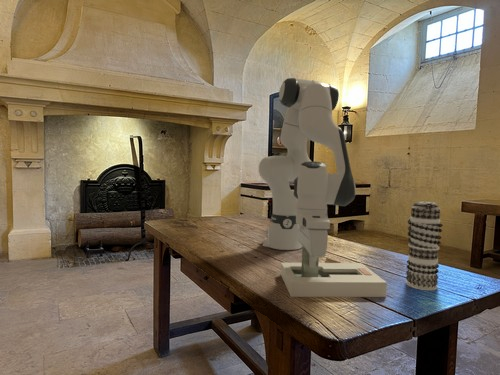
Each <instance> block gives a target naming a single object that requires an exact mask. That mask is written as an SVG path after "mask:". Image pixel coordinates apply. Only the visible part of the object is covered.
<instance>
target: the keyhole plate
mask: <svg viewBox="0 0 500 375" xmlns="http://www.w3.org/2000/svg"><path fill="white" fill-rule="evenodd" d="M301 270H302V262H281V264H280V276H281V278H282V280H283V282H284V285H285V287H286V290H287V291H288V295H289V296H290V298H294V297H295V298H299V297H300V298H308V297H309V298H319V297H320V298H326V297H327V298H387V283H388V282H387V281H386V280H384V279H383V278H382V277H380V276H379V275H378V274H376V273H375V272H374V271H372V270H371V269H370V268H368V267H367V266H366V265H364V264H363V263H362V262H340V263H325V262H318V274H320V275H321V277H295V275H294V274H301Z"/></svg>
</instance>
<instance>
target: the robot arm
mask: <svg viewBox="0 0 500 375" xmlns="http://www.w3.org/2000/svg"><path fill="white" fill-rule="evenodd" d="M278 94H279V95H278V96H279V101H280V104H281V105H282V106H284V107H285V108H287V109H286V112H285V114H284V118H283V123H282V128H281V132H280V142H281V144H282V146H284V147H285V148H286V149H287V153H286V155H272V156H271V155H270V156H265V157H263V158H262V159H261V161H260V162H259V165H258V173H259V176H260V177H261V179H262V180H263V181H264V182H265V183H266V184H267V185H268V187H269V189H270V192H271V195H272V196H271V197H272V213H271V217H270V218H271V219H270V221H271V223H270V225H268V228H266V229H265V235H266V237H265V239H264V240H263V243H262V246H263V247H264V248H269V249H275V250H281V251H294V250H299V249H302V246H303V247H304V248H305V249H306V250H307V252H308V253H309V260H308V266H309V267H310V268H315V267H316V260H317V258H325V256H326V254H327V248H328V236H329V232H328V230H329V229H330V228H331V221H330V220H329V217H328V205H333V206H340V207H346V206H348V205H349V204H350V203H352V202H353V201H354V200H355V198H356V192H357V189H356V183H355V181H354V177H353V173H352V169H351V164H350V158H349V154H348V147H347V144H346V138H345V135H344V132H343V130H342V128H341V127H340V126H337V124H336V123H335V122H334V119H333V111H334V110H335V109H336V107H337V104H338V102H339V97H340V96H339V90H338V88H337V86H335V85H333V84H330V83H326V82H325V83H324V82H322V81H321V82H320V81H318V80H309V79H303V78H302V79H298V78H296V77H289V78H286V79H285V80H283V82H282V84H281V86H280V88H279V91H278ZM308 140H310V141H312V142H313V143H317V144H319V145H322V146H325V147H327V148H328V149H330V150H331V152H332V153H333V156H334V161H335V166H336V172H335V173H328V169H327V165H326V164H325V163H324V162H321V161H312V160H311V159H310V158H309V154H308V151H307V150H308V148H307V146H308ZM292 182H293V190H292V189H291V187H290V183H292Z"/></svg>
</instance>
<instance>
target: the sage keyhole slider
mask: <svg viewBox="0 0 500 375" xmlns="http://www.w3.org/2000/svg"><path fill="white" fill-rule="evenodd" d="M308 260H309V253H308V252H307V250H306V249H305V248H304V247H303V246H302V248H301V263H302V270H301V274H294V275H295V277H322V276H321V275H320V274H318V263H320V262H319V258H317V260H316V267H315V268H310V267H309V266H308Z"/></svg>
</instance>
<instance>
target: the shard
mask: <svg viewBox="0 0 500 375" xmlns="http://www.w3.org/2000/svg"><path fill="white" fill-rule="evenodd" d="M324 263H341V262H340V261H337V260H334V259H331V258H328V257H326V258H325V261H324Z"/></svg>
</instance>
